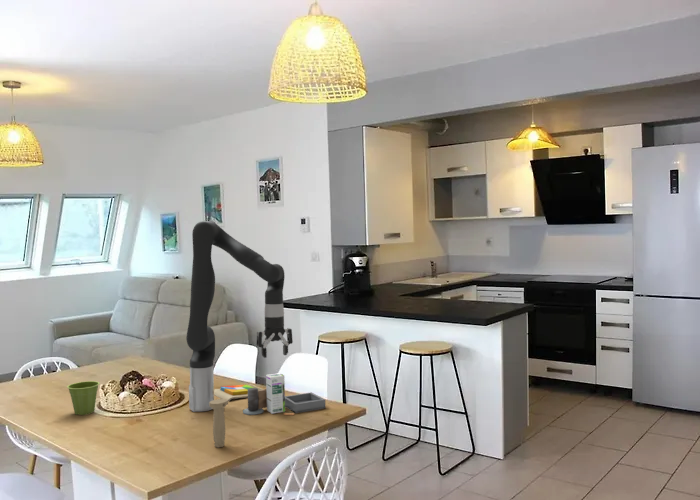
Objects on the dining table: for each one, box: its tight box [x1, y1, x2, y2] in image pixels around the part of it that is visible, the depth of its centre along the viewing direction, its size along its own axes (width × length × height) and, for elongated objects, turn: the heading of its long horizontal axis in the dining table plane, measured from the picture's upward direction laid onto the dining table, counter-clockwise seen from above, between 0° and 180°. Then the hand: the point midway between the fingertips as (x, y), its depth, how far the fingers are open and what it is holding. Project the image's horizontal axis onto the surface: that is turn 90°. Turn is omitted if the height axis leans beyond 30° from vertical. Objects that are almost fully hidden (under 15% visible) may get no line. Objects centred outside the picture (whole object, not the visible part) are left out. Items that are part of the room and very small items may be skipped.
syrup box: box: [265, 372, 286, 415], centre depth 241 cm, size 6×6×14 cm
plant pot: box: [66, 380, 100, 416], centre depth 242 cm, size 12×12×11 cm
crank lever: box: [247, 388, 267, 411], centre depth 244 cm, size 14×4×8 cm, turn 123°
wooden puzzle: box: [214, 383, 264, 402], centre depth 268 cm, size 18×19×4 cm
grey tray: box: [285, 391, 326, 414], centre depth 247 cm, size 13×13×4 cm
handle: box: [209, 398, 229, 448], centre depth 202 cm, size 5×6×15 cm
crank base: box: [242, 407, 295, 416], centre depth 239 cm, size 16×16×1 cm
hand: (274, 356), depth 241 cm, fingers open, 8 cm apart
